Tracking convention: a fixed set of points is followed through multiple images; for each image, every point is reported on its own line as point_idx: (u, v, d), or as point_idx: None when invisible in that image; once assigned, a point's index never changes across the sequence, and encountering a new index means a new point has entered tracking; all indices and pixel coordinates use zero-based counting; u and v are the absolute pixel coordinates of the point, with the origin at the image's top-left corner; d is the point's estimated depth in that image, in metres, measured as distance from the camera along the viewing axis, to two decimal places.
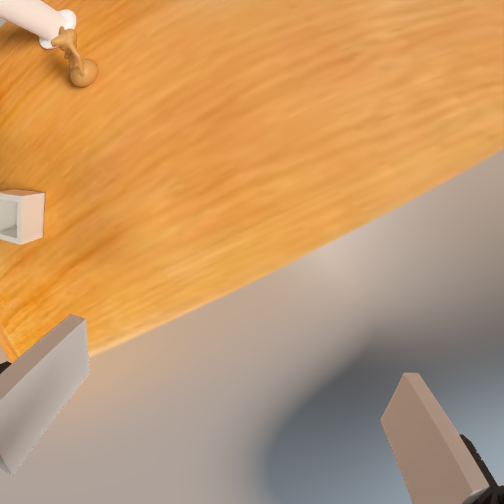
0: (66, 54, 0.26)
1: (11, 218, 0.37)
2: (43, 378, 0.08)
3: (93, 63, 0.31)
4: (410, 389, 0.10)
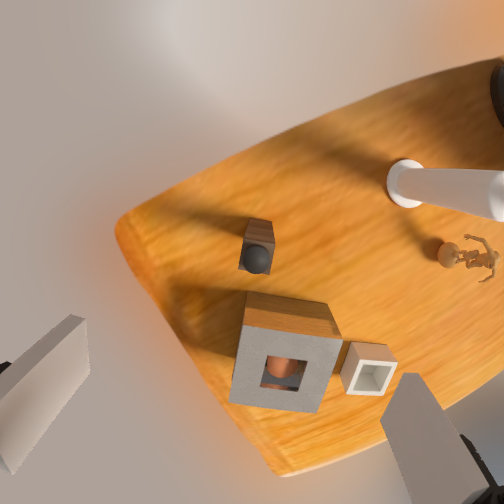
0: (471, 258, 0.36)
1: None
2: (43, 378, 0.08)
3: (459, 250, 0.41)
4: (410, 389, 0.10)
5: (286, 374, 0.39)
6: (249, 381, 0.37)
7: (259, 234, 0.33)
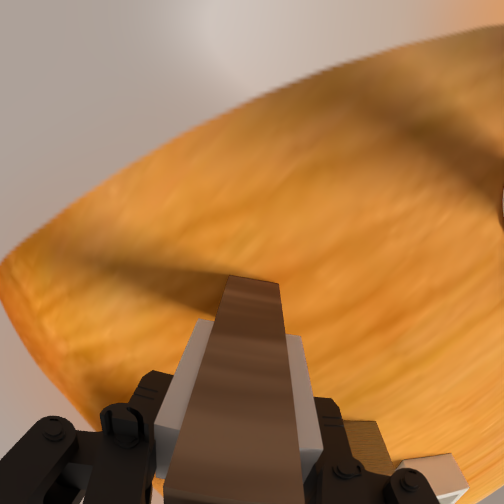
0: None
1: None
2: None
3: None
4: None
5: None
6: None
7: (241, 401, 0.08)
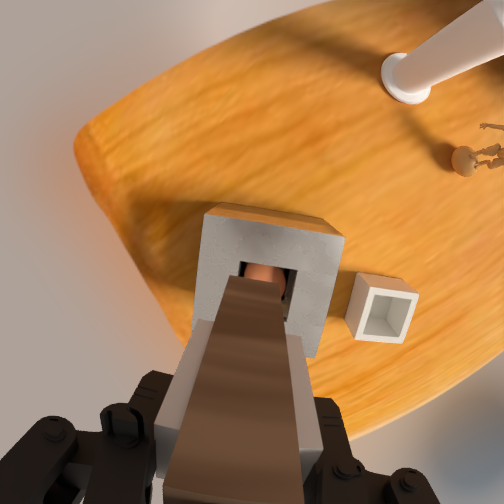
0: (493, 154, 0.27)
1: None
2: None
3: None
4: None
5: None
6: (217, 304, 0.28)
7: (241, 401, 0.08)
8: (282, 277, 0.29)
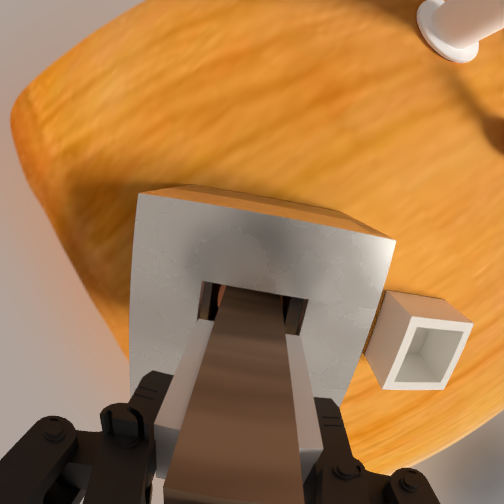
0: None
1: None
2: None
3: None
4: None
5: None
6: (166, 352, 0.15)
7: (241, 402, 0.08)
8: None
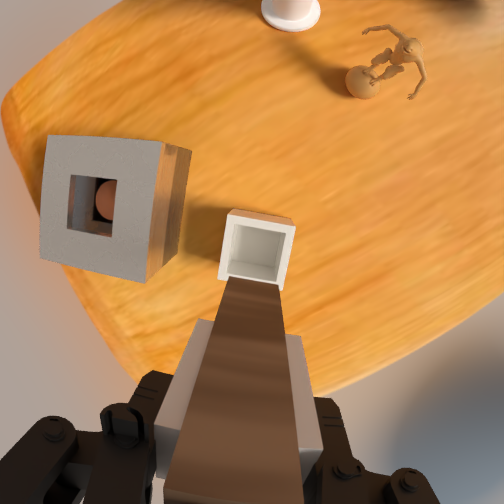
0: (383, 60, 0.24)
1: (232, 249, 0.35)
2: None
3: None
4: None
5: None
6: (55, 219, 0.25)
7: (241, 403, 0.08)
8: None
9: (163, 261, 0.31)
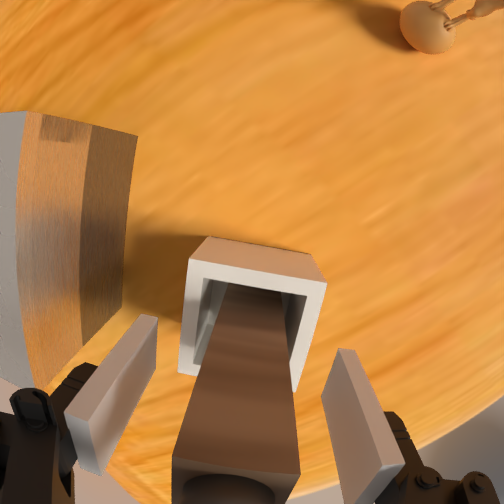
0: None
1: (207, 311, 0.19)
2: (129, 376, 0.10)
3: None
4: (341, 363, 0.12)
5: None
6: None
7: (243, 383, 0.09)
8: None
9: (84, 336, 0.16)
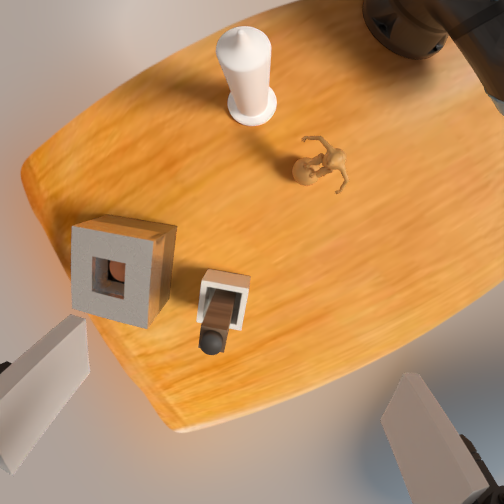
0: (316, 163, 0.37)
1: (207, 299, 0.48)
2: (43, 378, 0.08)
3: None
4: (410, 389, 0.10)
5: None
6: (83, 284, 0.39)
7: (217, 315, 0.38)
8: None
9: (159, 309, 0.45)
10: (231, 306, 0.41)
